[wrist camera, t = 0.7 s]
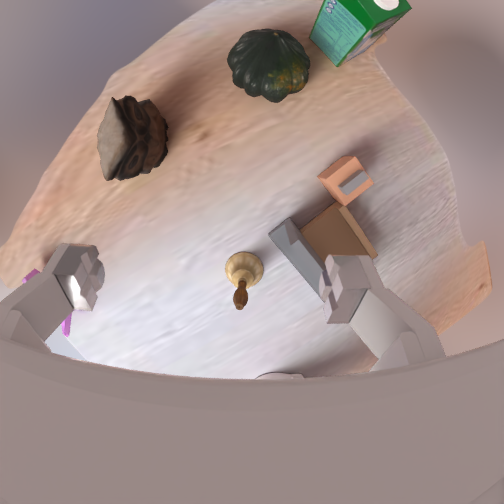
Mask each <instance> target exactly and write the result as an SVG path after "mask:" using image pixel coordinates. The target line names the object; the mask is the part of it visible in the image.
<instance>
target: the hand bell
mask: <svg viewBox="0 0 504 504" xmlns="http://www.w3.org/2000/svg"><path fill="white" fill-rule="evenodd" d="M225 272H226V275H227V278H228V279H229V280H230V281H231V282H232V283H233V284H234V286H235V287H237V288H238V289H237V290H236V291H235V293H234V297H233V301H234V304H235V306H236V309H237V310H242V309H243V307H244V306H245V305H246V304H247V301H248V293H247V291H246V289H247V288H249V287H251V286H253V285H255V284H256V283H258V282H259V281H260V279H261V278H262V275H263V265H262V263H261V261H260V260H259V258H258V257H257V256H255V255H253V254H251V253H248V252H239V253H236V254H234V255H233V256H231V257H230V258H229V259H228V261H227V263H226V267H225Z"/></svg>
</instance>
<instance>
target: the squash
mask: <svg viewBox="0 0 504 504" xmlns="http://www.w3.org/2000/svg"><path fill="white" fill-rule="evenodd" d="M227 62H228V65H229V67H230V68H231V70H232V71H233V75H232V77H233V83H234V84H235V85H236V86H238V87H240V88H244V89H245V92H246V93H247V94H248V95H250V96H252V97H256V96H260V95H262V96H263V97H265V98H266V99H267V100H269V101H271V102H274V103H278V102H280V101H282V100H283V99H284V98H285V97H286V96H287V95H288V94H293V93H297V92H299V91H300V90H302V89H303V88H304V86H305V84H306V83H307V81H308V74H309V73H308V69H309V67H310V59H309V57H308V56H307V54H306V53H305V51H304V48H303V46H302V45H301V44H300V43H299V42H298V41H297V40H296V39H295V38H294V37H293V36H292V35H291V34H289V33H287V32H285V31H281V30H272V29H261V30H252V31H249V32H246V33H245V34H243V35H242V36H241V38H240V39H239V41H238V42H237V43H236V44H235V45H234V47H233V48H232V49H231V51H230V52H229V55H228V58H227Z"/></svg>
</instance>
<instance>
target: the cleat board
mask: <svg viewBox="0 0 504 504" xmlns="http://www.w3.org/2000/svg"><path fill="white" fill-rule="evenodd" d="M268 234H269V237H270V238H271V240H272V241H273V242H274V243H275V244H276V245H277V247H278V248H279V249H280V250H281V251H282V252H283V254H284V255H285V256H286V257H287V258H288V260H289V261H290V262H291V263H292V264H293V266H294V267H295V268H296V269H297V270H298V272H299V273H300V274H301V275H302V276H303V278H304V279H305V280H306V281H307V282H308V284H309V285H310V286H311V287H312V288H313V290H314V291H315V292H316V293H317V294H318V296H319V297H320V293H319V281H320V277H321V273H322V272H323V271H324V270H325V269H326V265H325V261H326V258H327V257H328V255H354V256H355V255H369V256H370V257H371V258H372V260H373V259H374V258H375V257H376V256H378V254H377V253H376V251H375V249H374V248H373V246H372V245H371V243H370V242H369V240H368V239H367V237H366V235H365V234H364V232H363V231H362V229H361V228H360V226H359V225H358V224H357V222H356V221H355V219H354V218H353V216H352V215H351V213H350V212H349V210H348V209H347V208H346V206H344V205H343V204H341V203H339V202H338V201H336V202H335V203H333V204H332V205H331V206H329V207H328V208H327V209H326V210H324V211H323V212H322V213H321V214H319V215H318V216H317V217H315V218H314V219H313V220H312V221H310V222H309V223H308V224H306V225H305V226H304V227H303V228H301V229H300V230H299V229H298V227H297V226H296V225H295V224H294V222H293V221H292V220H291V219H290V218H287V219H286V220H285V221H284V222H282V223H281V224H280V225H279V226H277V227H276V228H275V229H274V230H272V231H271V232H270V233H268ZM320 298H321V297H320ZM322 301H323V300H322ZM323 302H324V301H323ZM324 303H325V302H324Z"/></svg>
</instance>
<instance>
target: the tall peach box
mask: <svg viewBox="0 0 504 504" xmlns="http://www.w3.org/2000/svg"><path fill="white" fill-rule="evenodd" d="M317 177H318V178H319V179H320V181H321V182H322V183H323V185H324V186H325V187H326V189H327V190H328V191H329V193H330V194H331V195H332V197H333V198H334V199H335V200H336V201H338V202H339V203H341V204H343V205H344V206H346V205H347V204H349V203H350V202H351V201H352V200H354V199H355V198H356V197H357V196H359V195H360V194H361V193H362V192H364V191H365V190H366V189H367V188H369V187H370V186H371V185H372V184H374V183H373V181H372V180H371V178H370V177H369V175H368V174H367V173H366V171H365V170H364V168H363V167H362V165H361V164H360V162H359V161H358V160H357V158H356V157H355V156H343V157H341V158H340V159H339V160H338V161H336V162H335V163H334V164H332V165H331V166H330V167H329V168H327V169H326V170H325V171H324V172H322V173H321V174H320V175H318V176H317Z"/></svg>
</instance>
